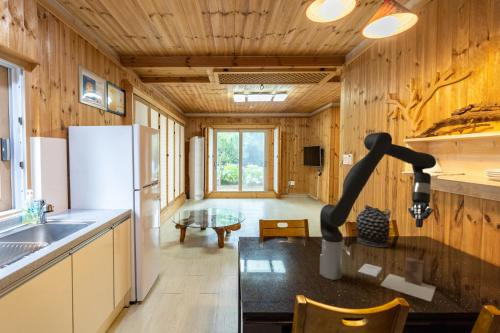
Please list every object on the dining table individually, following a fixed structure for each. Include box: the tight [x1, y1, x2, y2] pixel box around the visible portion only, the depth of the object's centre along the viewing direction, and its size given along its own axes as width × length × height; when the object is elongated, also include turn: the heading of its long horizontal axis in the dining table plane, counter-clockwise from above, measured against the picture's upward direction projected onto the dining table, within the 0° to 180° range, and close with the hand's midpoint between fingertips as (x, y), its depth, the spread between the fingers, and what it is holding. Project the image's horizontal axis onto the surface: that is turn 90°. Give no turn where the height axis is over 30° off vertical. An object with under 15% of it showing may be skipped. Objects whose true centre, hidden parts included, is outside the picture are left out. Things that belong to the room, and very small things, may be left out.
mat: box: [379, 273, 437, 302], centre depth 109 cm, size 18×15×1 cm
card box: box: [404, 257, 424, 286], centre depth 112 cm, size 6×4×10 cm, turn 48°
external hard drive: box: [357, 263, 383, 279], centre depth 124 cm, size 2×8×12 cm
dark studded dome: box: [354, 204, 392, 248], centre depth 164 cm, size 21×15×25 cm
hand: (418, 227), depth 125 cm, fingers closed
